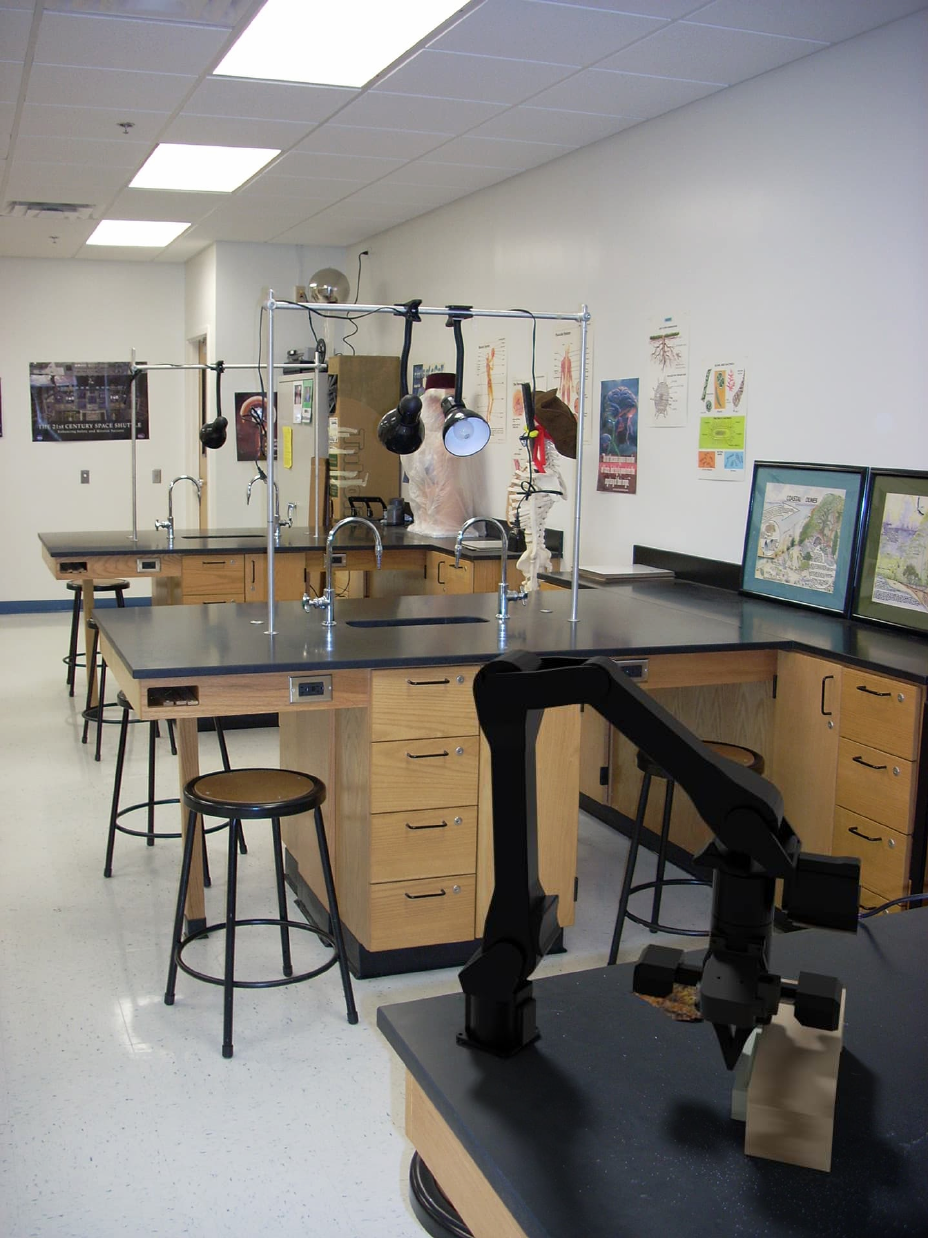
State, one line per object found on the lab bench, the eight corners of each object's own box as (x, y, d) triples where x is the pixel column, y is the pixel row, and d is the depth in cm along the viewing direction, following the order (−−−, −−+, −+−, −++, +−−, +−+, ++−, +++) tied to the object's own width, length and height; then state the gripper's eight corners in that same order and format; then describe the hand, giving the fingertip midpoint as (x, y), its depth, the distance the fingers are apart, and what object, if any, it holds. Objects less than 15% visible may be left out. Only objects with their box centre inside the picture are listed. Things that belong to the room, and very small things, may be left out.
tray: (731, 1118, 106) (732, 1090, 106) (747, 1053, 118) (749, 1027, 117) (800, 1132, 104) (801, 1103, 104) (810, 1064, 116) (811, 1038, 115)
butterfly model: (622, 998, 130) (623, 972, 129) (713, 977, 135) (714, 952, 135) (668, 1035, 122) (669, 1007, 122) (763, 1011, 127) (764, 984, 127)
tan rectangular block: (744, 1154, 101) (747, 1089, 100) (771, 1032, 122) (774, 977, 121) (829, 1172, 99) (833, 1106, 98) (842, 1044, 119) (845, 989, 118)
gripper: (624, 931, 105) (615, 1091, 108) (843, 970, 99) (827, 1139, 102) (649, 886, 115) (640, 1033, 118) (848, 918, 109) (834, 1074, 112)
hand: (730, 1069), depth 112 cm, fingers closed
